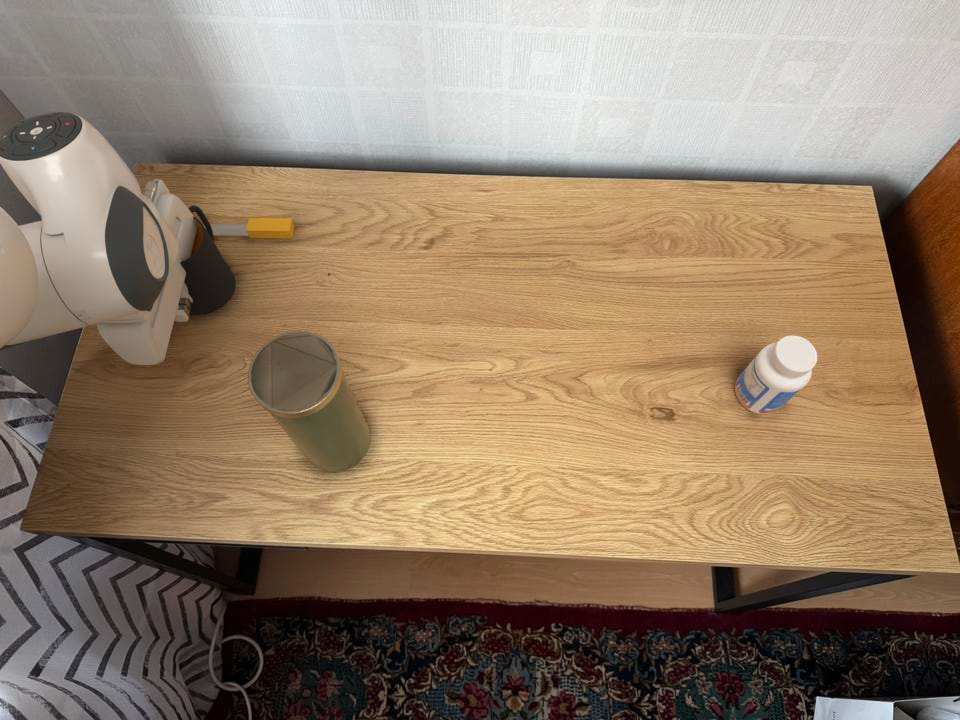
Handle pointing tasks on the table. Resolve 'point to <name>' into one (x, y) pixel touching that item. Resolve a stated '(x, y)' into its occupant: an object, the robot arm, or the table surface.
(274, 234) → the knife
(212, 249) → the mug
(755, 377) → the pill bottle
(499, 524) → the table surface
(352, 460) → the canister
